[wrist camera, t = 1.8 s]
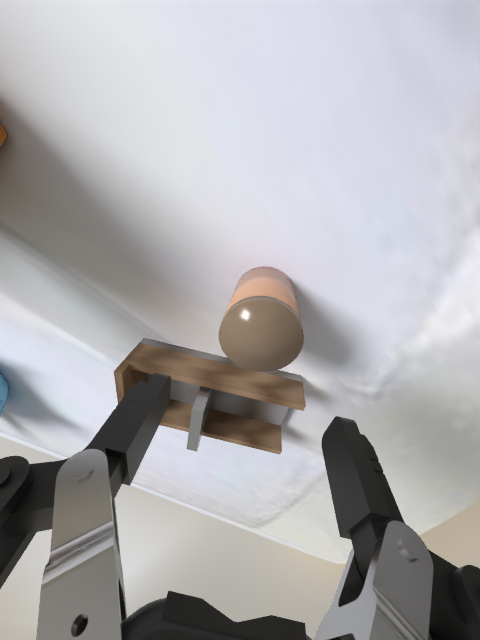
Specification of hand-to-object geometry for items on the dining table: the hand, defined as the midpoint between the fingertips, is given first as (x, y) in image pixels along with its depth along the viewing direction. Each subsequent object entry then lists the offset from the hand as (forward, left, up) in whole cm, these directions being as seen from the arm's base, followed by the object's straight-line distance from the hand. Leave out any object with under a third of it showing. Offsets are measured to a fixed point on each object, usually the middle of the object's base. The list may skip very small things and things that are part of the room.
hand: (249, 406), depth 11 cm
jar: (0, 0, -14) cm, 14 cm away
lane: (+3, +14, -14) cm, 20 cm away
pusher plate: (+4, +14, -13) cm, 19 cm away
